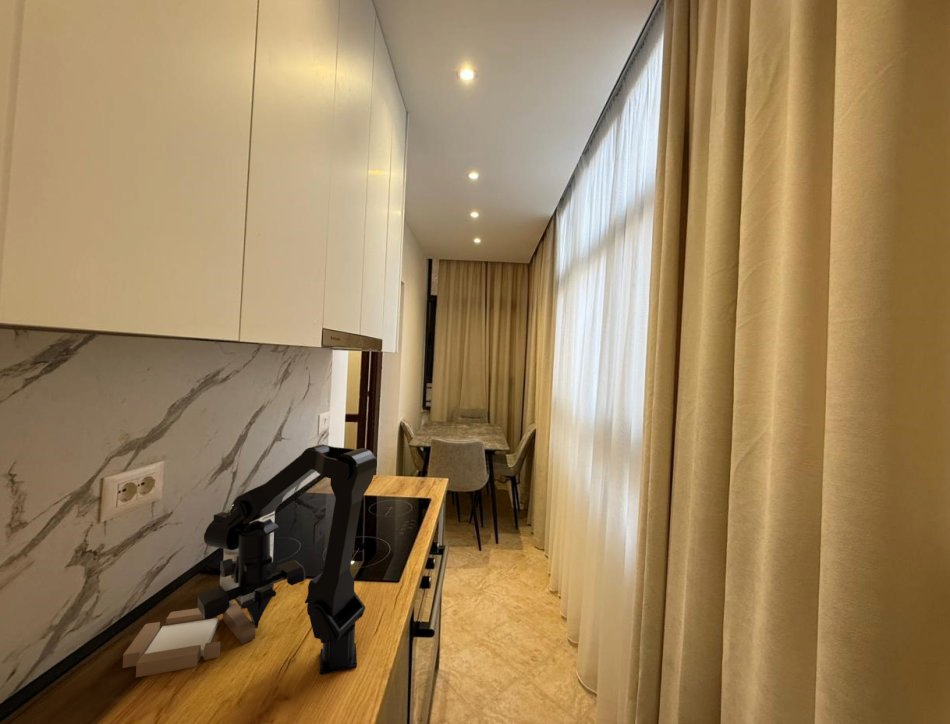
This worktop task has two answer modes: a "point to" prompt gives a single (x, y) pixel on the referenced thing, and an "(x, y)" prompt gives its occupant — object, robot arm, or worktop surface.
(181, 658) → the seat
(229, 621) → the leg
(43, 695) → the worktop surface
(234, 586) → the silver metal bottle
